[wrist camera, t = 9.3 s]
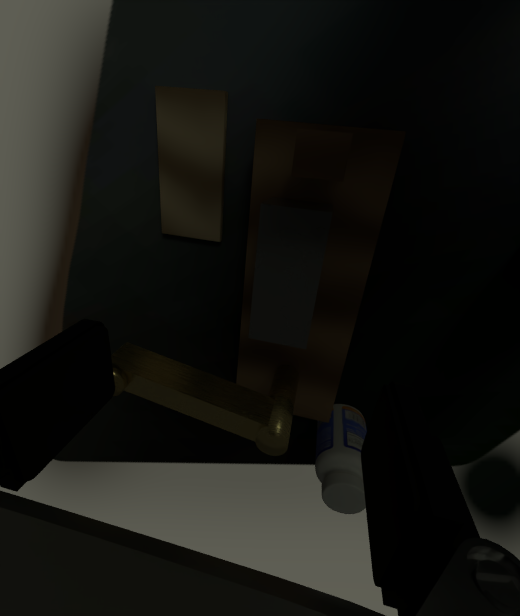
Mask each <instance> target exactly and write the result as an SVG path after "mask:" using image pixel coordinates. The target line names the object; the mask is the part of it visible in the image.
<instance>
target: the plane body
mask: <svg viewBox="0 0 520 616" xmlns="http://www.w3.org/2000/svg"><path fill="white" fill-rule="evenodd" d="M405 135H406V131H394V130H383V129H371V128H360V127H348V126H337V125H325V124H313V123H302V122H290V121H279V120H267V119H257V123H256V136H255V149H254V162H253V175H252V188H251V201H250V213H249V226H248V239H247V252H246V265H245V278H244V291H243V304H242V317H241V329H240V342H239V355H238V368H237V381H236V384H238V385H241V386H243V387H246V388H249V389H251V390H254V391H256V392H259V393H262V394H264V395H267V396H268V394H269V391H270V387H271V384H272V380H273V376H274V373H275V370H276V368H277V367H279V366H281V365H291V366H293V367H294V368H296V369H297V371H298V372H299V381H298V387H297V394H296V400H295V406H294V412H293V415H297V416H301V417H305V418H309V419H314V420H318V421H322V422H327V423H329V420H330V416H331V413H332V409H333V405H334V401H335V398H336V394H337V390H338V386H339V383H340V379H341V375H342V371H343V368H344V364H345V360H346V356H347V353H348V349H349V345H350V341H351V338H352V334H353V330H354V326H355V323H356V319H357V315H358V311H359V307H360V304H361V300H362V296H363V292H364V289H365V285H366V281H367V277H368V274H369V270H370V266H371V262H372V259H373V255H374V251H375V247H376V244H377V240H378V236H379V232H380V229H381V225H382V221H383V217H384V214H385V210H386V206H387V202H388V199H389V195H390V191H391V187H392V183H393V180H394V176H395V172H396V168H397V165H398V161H399V157H400V153H401V150H402V146H403V142H404V138H405ZM272 197H277V198H285V199H293V200H301V201H309V202H317V203H325V204H333V213H332V218H331V224H330V229H329V234H328V239H327V244H326V249H325V255H324V260H323V265H322V270H321V275H320V280H319V286H318V291H317V296H316V301H315V306H314V311H313V317H312V322H311V327H310V332H309V337H308V342H307V348H306V349H301V348H296V347H291V346H286V345H281V344H276V343H271V342H266V341H261V340H256V339H251V338H248V337H249V326H250V315H251V304H252V293H253V282H254V272H255V261H256V250H257V239H258V228H259V217H260V206H261V203H263V202H265V201H266V200H268V199H270V198H272Z"/></svg>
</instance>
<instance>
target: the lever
mask: <svg viewBox="0 0 520 616" xmlns="http://www.w3.org/2000/svg"><path fill="white" fill-rule="evenodd" d="M111 359H112V366H113V374H114V381H115V392H114V395H113V396H117V395H119V394H120V393H121V392H122V391H123V390H125V391H127V392H130V393H132V394H135V395H137V396H140V397H142V398H145V399H147V400H150V401H153V402H155V403H158V404H160V405H163V406H165V407H168V408H170V409H173V410H176V411H178V412H181V413H183V414H186V415H188V416H191V417H193V418H196V419H199V420H201V421H204V422H206V423H209V424H211V425H214V426H216V427H219V428H221V429H224V430H227V431H229V432H232V433H234V434H237V435H239V436H242V437H244V438H247V439H250V440H252V441H255V442H256V445H257V447H258V448H259V449H260V450H261V451H262V452H263V453H265V454H268V455H271V456H279V455H282V454H284V453H285V452H286V451H287V449H288V443H289V437H290V431H291V424H292V418H293V412H294V406H295V400H296V394H297V387H298V381H299V372H298V371H297V369H296V368H294V367H293V366H291V365H281V366H279V367H277V368H276V370H275V373H274V376H273V380H272V384H271V387H270V391H269V394H268V396H267V395H264V394H262V393H259V392H256V391H254V390H251V389H249V388H246V387H243V386H241V385H238V384H235V383H233V382H230V381H227V380H225V379H222V378H220V377H217V376H214V375H212V374H209V373H206V372H204V371H201V370H199V369H196V368H193V367H191V366H188V365H185V364H183V363H180V362H177V361H175V360H172V359H170V358H167V357H164V356H162V355H159V354H156V353H154V352H151V351H148V350H146V349H143V348H141V347H138V346H135V345H133V344H130V343H125V344H124V345H123V346H122V347H121V348H119V349H118V350H117V351H116V352H115V353H114V354H112V355H111Z"/></svg>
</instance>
